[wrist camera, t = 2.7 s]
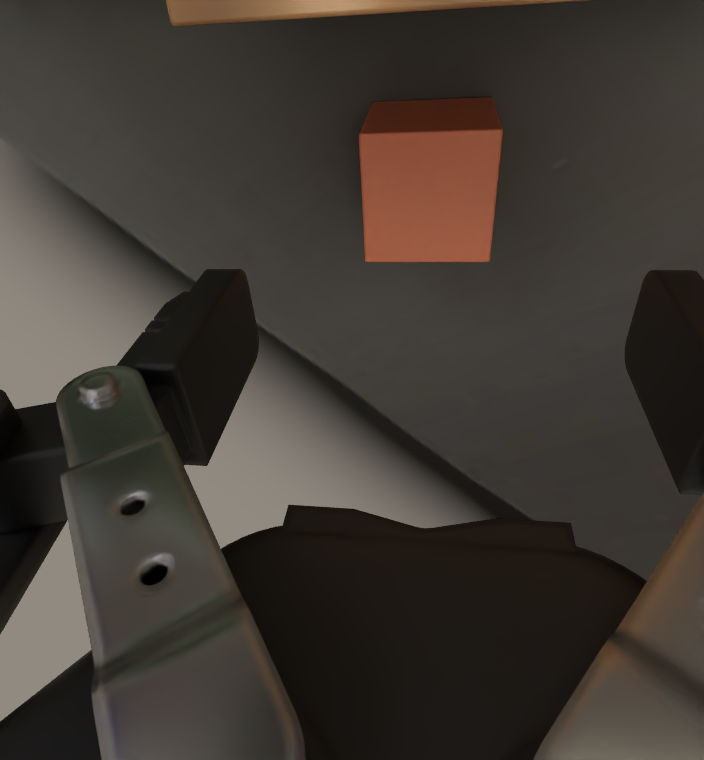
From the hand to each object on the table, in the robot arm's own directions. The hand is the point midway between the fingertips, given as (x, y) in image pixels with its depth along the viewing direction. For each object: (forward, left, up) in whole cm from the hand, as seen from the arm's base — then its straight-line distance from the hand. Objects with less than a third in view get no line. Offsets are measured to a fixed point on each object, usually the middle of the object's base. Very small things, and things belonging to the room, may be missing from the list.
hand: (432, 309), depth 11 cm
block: (0, -1, -12) cm, 12 cm away
